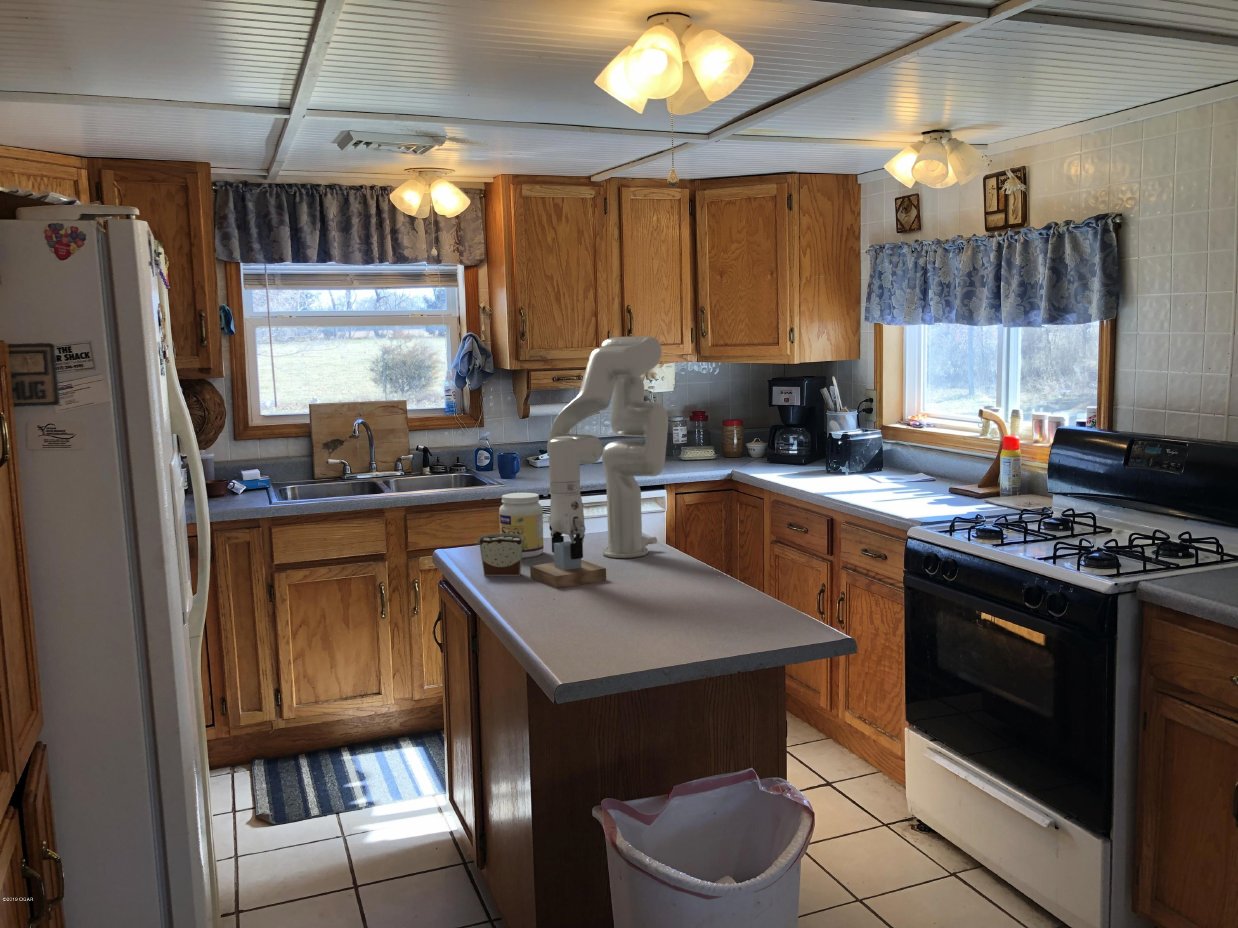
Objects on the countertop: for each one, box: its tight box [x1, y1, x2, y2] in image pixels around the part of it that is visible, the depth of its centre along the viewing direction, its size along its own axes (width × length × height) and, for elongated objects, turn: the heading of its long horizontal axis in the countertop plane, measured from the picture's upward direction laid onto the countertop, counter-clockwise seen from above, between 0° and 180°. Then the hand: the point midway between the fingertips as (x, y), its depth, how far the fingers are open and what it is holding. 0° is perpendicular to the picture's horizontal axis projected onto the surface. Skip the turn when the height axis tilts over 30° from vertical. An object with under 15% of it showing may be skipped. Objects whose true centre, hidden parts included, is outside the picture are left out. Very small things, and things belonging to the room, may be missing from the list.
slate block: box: [553, 540, 582, 570], centre depth 248 cm, size 5×5×6 cm
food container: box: [476, 532, 525, 577], centre depth 257 cm, size 12×6×10 cm, turn 84°
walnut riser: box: [529, 559, 607, 589], centre depth 249 cm, size 14×14×3 cm
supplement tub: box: [498, 492, 545, 559], centre depth 279 cm, size 12×12×17 cm
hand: (567, 555), depth 248 cm, fingers open, 9 cm apart
